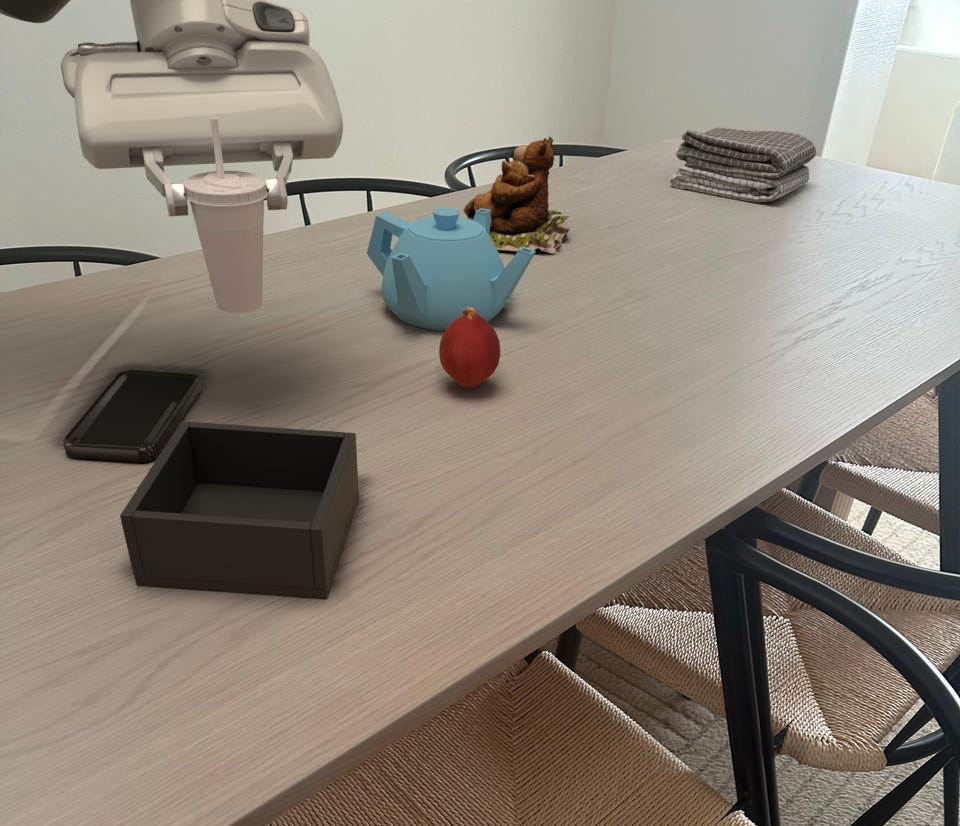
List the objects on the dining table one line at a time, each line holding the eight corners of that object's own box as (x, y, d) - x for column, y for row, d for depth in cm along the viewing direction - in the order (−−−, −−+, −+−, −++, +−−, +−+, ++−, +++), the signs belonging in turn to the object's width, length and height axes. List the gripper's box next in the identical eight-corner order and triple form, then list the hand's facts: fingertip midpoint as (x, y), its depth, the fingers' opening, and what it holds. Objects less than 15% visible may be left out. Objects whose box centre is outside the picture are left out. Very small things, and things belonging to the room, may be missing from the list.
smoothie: (254, 284, 86) (234, 106, 77) (293, 308, 82) (277, 123, 73) (186, 300, 83) (158, 116, 74) (224, 325, 79) (198, 134, 70)
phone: (58, 445, 82) (122, 368, 93) (61, 457, 82) (124, 379, 94) (151, 451, 81) (204, 373, 93) (154, 463, 82) (206, 384, 94)
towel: (778, 208, 145) (791, 151, 140) (663, 186, 152) (672, 130, 147) (810, 186, 155) (823, 131, 150) (701, 165, 162) (710, 112, 157)
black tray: (135, 585, 69) (119, 515, 66) (192, 485, 80) (181, 420, 76) (327, 599, 69) (321, 529, 65) (359, 497, 80) (355, 432, 76)
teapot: (491, 281, 118) (495, 185, 111) (532, 330, 107) (540, 227, 100) (365, 291, 114) (361, 192, 107) (395, 342, 103) (393, 236, 96)
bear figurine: (474, 214, 138) (477, 118, 130) (578, 229, 134) (588, 131, 126) (439, 244, 128) (440, 141, 120) (551, 261, 124) (559, 156, 116)
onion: (451, 370, 98) (453, 291, 93) (506, 381, 97) (510, 300, 92) (430, 394, 94) (430, 312, 89) (487, 405, 93) (490, 323, 88)
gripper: (49, 14, 72) (84, 195, 71) (325, 13, 78) (361, 180, 77) (62, 71, 78) (94, 238, 77) (317, 66, 84) (349, 221, 83)
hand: (229, 209), depth 77 cm, fingers closed on smoothie, 6 cm apart
